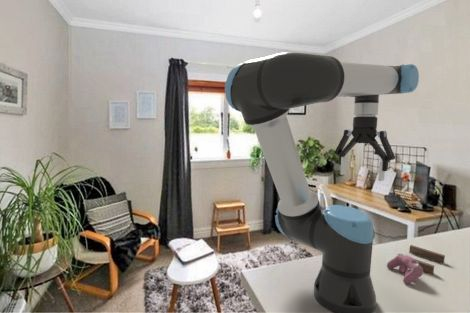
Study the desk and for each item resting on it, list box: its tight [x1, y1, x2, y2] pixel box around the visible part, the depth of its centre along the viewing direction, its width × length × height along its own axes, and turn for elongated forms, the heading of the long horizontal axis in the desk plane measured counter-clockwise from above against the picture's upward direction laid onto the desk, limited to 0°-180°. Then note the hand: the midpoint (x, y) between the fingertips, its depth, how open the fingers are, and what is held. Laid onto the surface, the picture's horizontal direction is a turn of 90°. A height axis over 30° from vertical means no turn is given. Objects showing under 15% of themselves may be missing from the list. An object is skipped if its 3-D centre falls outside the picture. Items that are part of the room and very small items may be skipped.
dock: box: [397, 244, 446, 275], centre depth 93 cm, size 12×10×2 cm
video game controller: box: [386, 253, 424, 285], centre depth 85 cm, size 10×5×7 cm, turn 2°
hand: (361, 177), depth 99 cm, fingers open, 13 cm apart
